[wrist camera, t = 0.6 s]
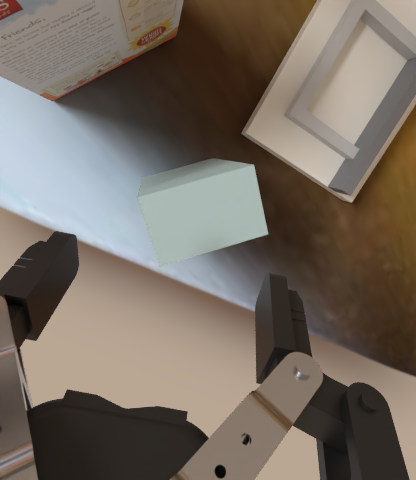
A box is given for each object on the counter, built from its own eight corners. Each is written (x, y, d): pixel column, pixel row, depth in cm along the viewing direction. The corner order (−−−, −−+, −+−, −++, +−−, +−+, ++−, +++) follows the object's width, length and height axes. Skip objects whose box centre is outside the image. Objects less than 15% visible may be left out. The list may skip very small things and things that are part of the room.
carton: (141, 177, 36) (137, 197, 21) (212, 158, 36) (253, 164, 22) (155, 222, 37) (160, 268, 23) (223, 202, 38) (268, 235, 24)
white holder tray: (240, 133, 36) (254, 131, 31) (343, -47, 33) (376, -79, 28) (342, 200, 40) (368, 207, 35) (442, 45, 37) (484, 30, 32)
